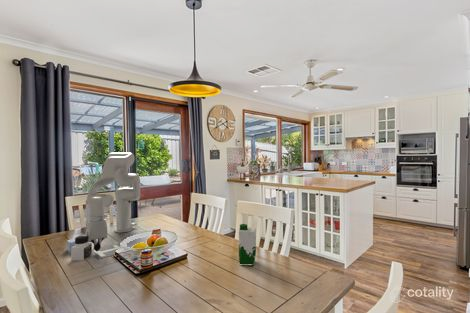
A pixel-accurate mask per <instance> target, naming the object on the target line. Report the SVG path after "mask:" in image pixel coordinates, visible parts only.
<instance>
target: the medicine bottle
mask: <svg viewBox="0 0 470 313" xmlns="http://www.w3.org/2000/svg"><path fill="white" fill-rule="evenodd" d="M74 239H75V246H73V247H72V248H71V253H70V255H71V256H70V260H71V261H72V262H73V261H77V262H79V261H80V262H84V261H86V260H87V259H89V258H91V256H93V255H92V249H93V247H92V244H93V243H92V242H88V236H86V234H84V235H78V236H76V237H75V238H74Z"/></svg>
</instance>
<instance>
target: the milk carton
mask: <svg viewBox="0 0 470 313" xmlns="http://www.w3.org/2000/svg"><path fill="white" fill-rule="evenodd" d="M238 229H239V230H238V261H239V263H240V264H254V265H255V260H256V256H257V231H256V230H257V229H256V227H252V226H248V224H245V223H240V224H239V228H238ZM239 263H238V264H239Z"/></svg>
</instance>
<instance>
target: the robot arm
mask: <svg viewBox="0 0 470 313" xmlns="http://www.w3.org/2000/svg"><path fill="white" fill-rule="evenodd" d="M135 158H136V157H135V155H134V153H132V152H119V151H118V152H116V151H115V152H110V153H108V155H107V158H105V161H104V163H103V164H104V165H103V168H102V173H101V175H100V178H98V179H97V180H96V181H94V183H93V184H92V185H91V186H90V187H89V189H88V191H87V192H88V193H87V197H86V200H87V205H88V206H90V221H88V223H87V227H86V229H85V230H86V231H85V232H86V233H85V235H86V236H88V243H92V244H93V249H94V250H95V251H100V247H101V244H102V242H103V241H104V240H105V239H108V223H107V218H108V214H105V213H106V212H105V211H106V210H105V209H106V208H108V207H111V206H113V204H114V201H115V204H116V206H115V207H116V213H115V214H116V223H115V224H116V227H115V228H114V229H113V231H114V232H115V233H117V234H119V233H127V232H131V231H132V230H133V227H136V226H138V223H137V222H131V204H130V203H129V202H130V201H131V202H132V201H139V200H140V198H141V179H140V175H139V174H137V173H129V168H130V167H131V166H132V165H134V163H135V161H136V160H135ZM114 182H116V185H117V187H118V188H116V190H115V192H114V196H113V195H112V194H111V193H110V194H109V193H98V191H99V190H100V189H101V188H104V187H105V186H108V185H110V184H113V183H114Z"/></svg>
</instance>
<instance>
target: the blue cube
mask: <svg viewBox="0 0 470 313" xmlns="http://www.w3.org/2000/svg"><path fill="white" fill-rule="evenodd" d="M73 246H75V238H71V239H67V240H66V251H67V252H68V253H69V254H71V248H72V247H73Z"/></svg>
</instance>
